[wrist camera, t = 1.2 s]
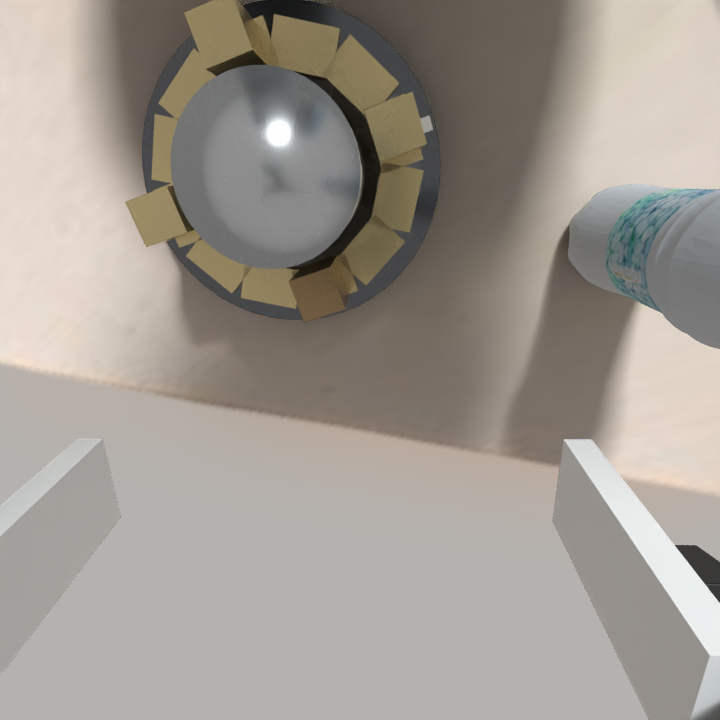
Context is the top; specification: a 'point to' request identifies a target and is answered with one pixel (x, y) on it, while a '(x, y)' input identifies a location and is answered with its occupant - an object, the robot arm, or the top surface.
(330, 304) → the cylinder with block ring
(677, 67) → the top surface
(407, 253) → the cap plate
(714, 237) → the bottle
